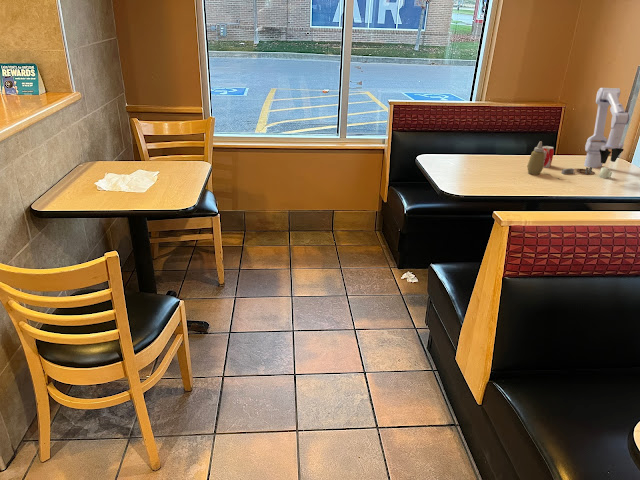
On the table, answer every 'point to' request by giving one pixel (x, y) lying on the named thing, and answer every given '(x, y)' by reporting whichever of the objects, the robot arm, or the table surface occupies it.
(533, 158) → the squeeze bottle
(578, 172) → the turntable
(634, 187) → the table surface
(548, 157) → the soda can
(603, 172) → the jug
